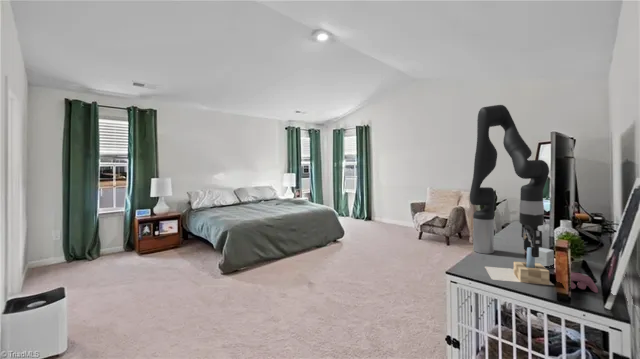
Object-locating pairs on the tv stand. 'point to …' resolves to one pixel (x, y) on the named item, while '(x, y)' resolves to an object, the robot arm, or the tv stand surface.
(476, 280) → the tv stand surface
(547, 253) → the product box
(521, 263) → the checkered wooden block
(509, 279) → the felt mat
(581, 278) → the video game controller
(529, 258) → the dowel
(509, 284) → the tv stand surface
